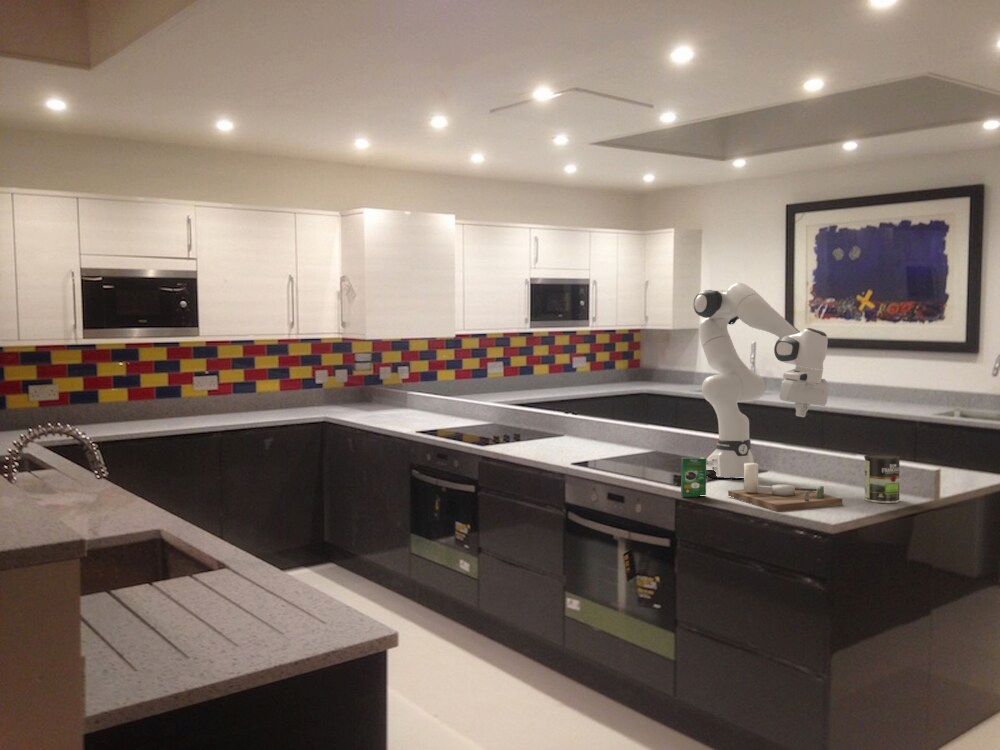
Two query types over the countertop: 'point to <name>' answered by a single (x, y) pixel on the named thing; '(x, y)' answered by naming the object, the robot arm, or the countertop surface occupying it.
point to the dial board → (788, 499)
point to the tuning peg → (778, 489)
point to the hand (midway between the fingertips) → (800, 416)
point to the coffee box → (693, 477)
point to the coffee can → (882, 478)
